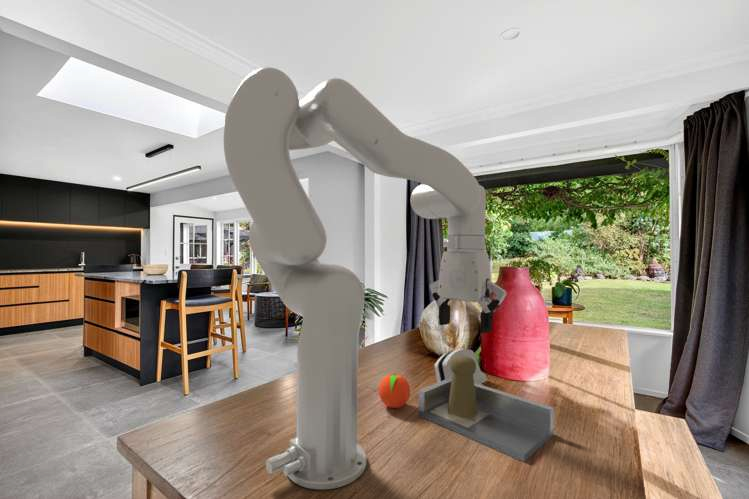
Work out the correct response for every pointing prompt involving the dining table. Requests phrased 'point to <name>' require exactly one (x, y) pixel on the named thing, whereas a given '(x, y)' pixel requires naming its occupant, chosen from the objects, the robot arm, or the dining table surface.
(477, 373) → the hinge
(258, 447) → the dining table surface
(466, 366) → the olive pawn figure
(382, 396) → the clementine
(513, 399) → the tray
